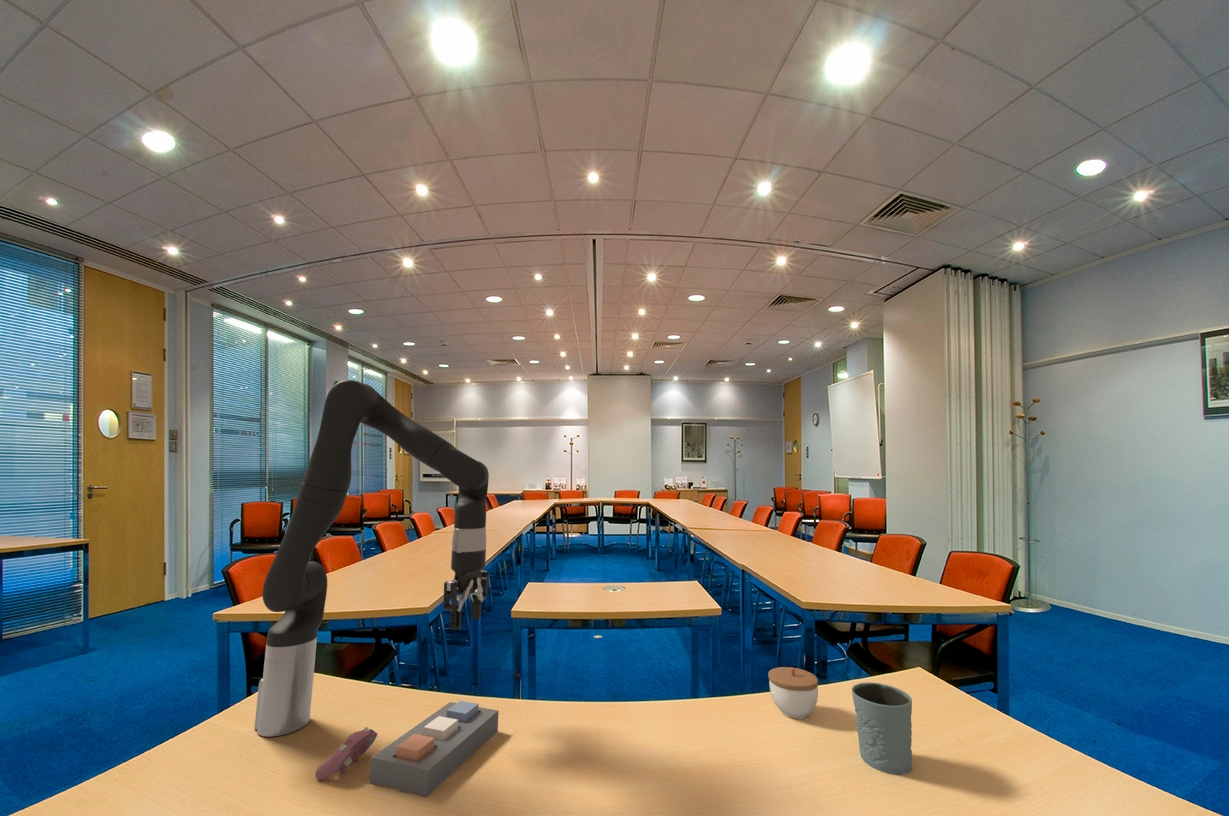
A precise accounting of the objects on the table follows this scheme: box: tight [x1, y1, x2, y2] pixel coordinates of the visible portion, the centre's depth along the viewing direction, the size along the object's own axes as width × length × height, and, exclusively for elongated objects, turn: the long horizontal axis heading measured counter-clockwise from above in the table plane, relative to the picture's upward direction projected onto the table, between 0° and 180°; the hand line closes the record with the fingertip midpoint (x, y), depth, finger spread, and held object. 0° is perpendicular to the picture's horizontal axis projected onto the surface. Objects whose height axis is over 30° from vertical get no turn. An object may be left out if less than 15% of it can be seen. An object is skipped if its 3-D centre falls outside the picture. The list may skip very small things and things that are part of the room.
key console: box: [369, 701, 499, 798], centre depth 92 cm, size 12×22×4 cm, turn 162°
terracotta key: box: [396, 734, 435, 763], centre depth 86 cm, size 4×4×2 cm
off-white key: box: [423, 716, 458, 742], centre depth 92 cm, size 4×4×2 cm
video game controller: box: [314, 726, 378, 781], centre depth 88 cm, size 10×5×7 cm, turn 169°
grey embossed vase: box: [851, 681, 913, 775], centre depth 91 cm, size 10×10×12 cm
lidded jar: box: [768, 666, 819, 719], centre depth 110 cm, size 11×11×9 cm
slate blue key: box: [447, 700, 480, 723], centre depth 99 cm, size 4×4×2 cm
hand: (465, 623), depth 108 cm, fingers open, 7 cm apart
